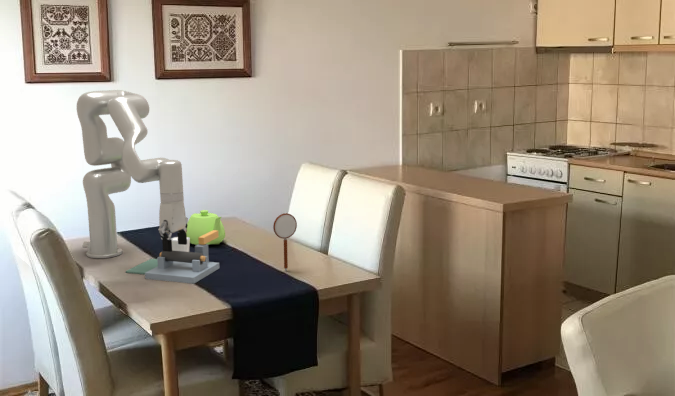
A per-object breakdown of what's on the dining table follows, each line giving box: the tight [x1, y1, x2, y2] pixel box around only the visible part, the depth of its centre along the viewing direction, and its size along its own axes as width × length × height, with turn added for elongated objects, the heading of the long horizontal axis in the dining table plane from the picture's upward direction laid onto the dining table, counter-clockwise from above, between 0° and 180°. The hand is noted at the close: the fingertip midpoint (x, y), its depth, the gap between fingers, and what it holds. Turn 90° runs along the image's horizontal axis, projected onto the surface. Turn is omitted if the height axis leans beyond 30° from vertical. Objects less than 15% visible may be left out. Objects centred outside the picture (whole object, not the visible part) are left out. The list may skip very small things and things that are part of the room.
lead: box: [158, 250, 206, 264], centre depth 248 cm, size 16×4×4 cm, turn 72°
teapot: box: [186, 209, 226, 246], centre depth 287 cm, size 22×15×13 cm
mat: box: [125, 258, 158, 276], centre depth 257 cm, size 8×16×1 cm, turn 162°
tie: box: [198, 230, 219, 245], centre depth 258 cm, size 2×11×2 cm, turn 162°
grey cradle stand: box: [144, 244, 220, 285], centre depth 249 cm, size 18×18×8 cm
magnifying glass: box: [272, 212, 298, 272], centre depth 250 cm, size 9×2×20 cm, turn 120°
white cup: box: [170, 236, 191, 252], centre depth 269 cm, size 7×7×7 cm
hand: (175, 247), depth 248 cm, fingers open, 9 cm apart
